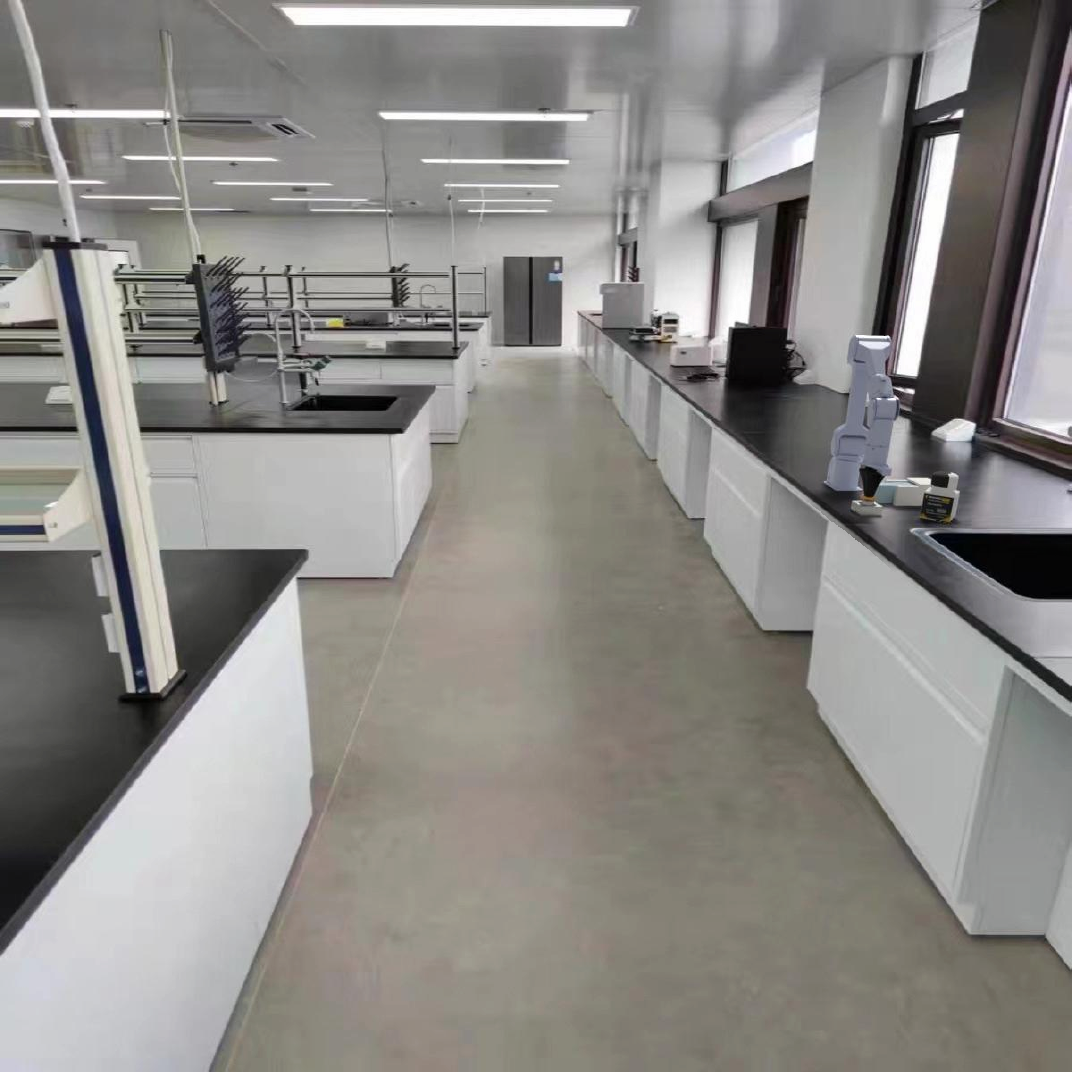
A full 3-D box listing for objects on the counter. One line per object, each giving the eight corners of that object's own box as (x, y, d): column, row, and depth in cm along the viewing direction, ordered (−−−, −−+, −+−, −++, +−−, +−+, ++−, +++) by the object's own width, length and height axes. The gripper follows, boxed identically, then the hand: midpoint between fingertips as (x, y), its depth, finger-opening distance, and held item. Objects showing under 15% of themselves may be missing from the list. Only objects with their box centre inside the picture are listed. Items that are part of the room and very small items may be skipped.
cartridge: (862, 499, 212) (865, 482, 210) (921, 499, 213) (924, 482, 211) (868, 503, 208) (871, 485, 207) (929, 503, 209) (932, 486, 207)
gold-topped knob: (856, 508, 202) (858, 493, 201) (870, 508, 202) (872, 494, 201) (862, 512, 198) (864, 497, 197) (876, 512, 198) (879, 498, 197)
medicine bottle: (918, 518, 197) (927, 472, 193) (925, 512, 202) (933, 468, 198) (949, 523, 193) (958, 477, 189) (955, 517, 198) (964, 472, 194)
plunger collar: (850, 509, 203) (852, 500, 202) (871, 509, 203) (872, 500, 202) (860, 515, 198) (861, 506, 197) (881, 516, 198) (882, 506, 197)
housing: (881, 498, 214) (885, 477, 212) (923, 498, 215) (927, 477, 213) (894, 506, 207) (898, 484, 205) (937, 506, 208) (942, 484, 206)
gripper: (849, 439, 201) (841, 488, 206) (875, 450, 187) (866, 503, 192) (875, 439, 202) (867, 488, 206) (903, 451, 188) (893, 504, 192)
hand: (868, 496), depth 199 cm, fingers closed, pressing on gold-topped knob
